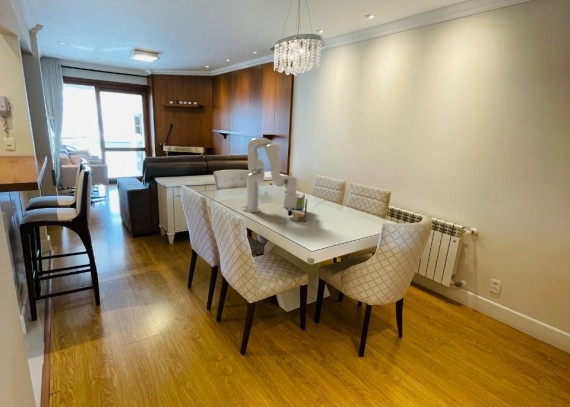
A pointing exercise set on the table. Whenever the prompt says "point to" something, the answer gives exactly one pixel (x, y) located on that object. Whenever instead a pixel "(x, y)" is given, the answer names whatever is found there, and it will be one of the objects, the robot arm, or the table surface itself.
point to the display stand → (304, 213)
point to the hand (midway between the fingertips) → (289, 215)
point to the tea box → (300, 202)
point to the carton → (298, 214)
